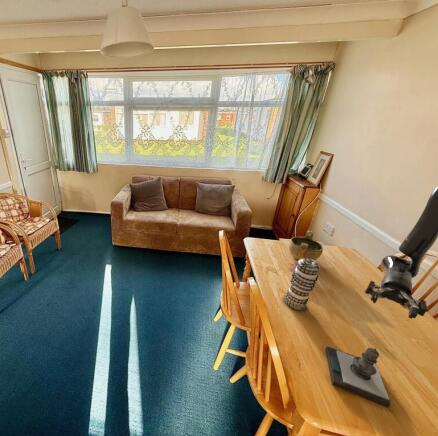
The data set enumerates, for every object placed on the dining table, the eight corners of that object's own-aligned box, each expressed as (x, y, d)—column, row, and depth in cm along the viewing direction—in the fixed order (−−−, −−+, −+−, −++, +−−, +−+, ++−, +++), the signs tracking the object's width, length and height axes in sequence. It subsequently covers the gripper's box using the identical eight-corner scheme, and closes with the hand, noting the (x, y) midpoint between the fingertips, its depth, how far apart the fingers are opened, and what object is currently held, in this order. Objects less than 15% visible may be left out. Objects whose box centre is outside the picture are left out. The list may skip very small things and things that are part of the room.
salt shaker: (369, 385, 73) (385, 361, 67) (346, 370, 77) (360, 346, 72) (374, 374, 76) (390, 350, 71) (352, 359, 80) (366, 336, 75)
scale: (371, 368, 81) (376, 362, 79) (386, 409, 70) (392, 403, 68) (324, 351, 87) (327, 344, 85) (330, 386, 76) (334, 380, 74)
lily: (281, 276, 127) (291, 269, 120) (285, 260, 134) (295, 252, 126) (303, 287, 124) (315, 281, 117) (306, 270, 131) (318, 263, 123)
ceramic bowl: (290, 246, 154) (296, 226, 148) (320, 255, 144) (328, 234, 138) (281, 260, 139) (288, 239, 133) (315, 272, 129) (323, 250, 123)
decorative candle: (309, 314, 103) (327, 269, 92) (287, 311, 104) (302, 267, 93) (300, 299, 111) (316, 256, 100) (280, 296, 112) (294, 254, 102)
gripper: (374, 267, 87) (368, 288, 77) (430, 287, 77) (431, 313, 67) (366, 283, 90) (359, 304, 80) (419, 303, 80) (419, 330, 71)
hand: (392, 308), depth 74 cm, fingers open, 8 cm apart
